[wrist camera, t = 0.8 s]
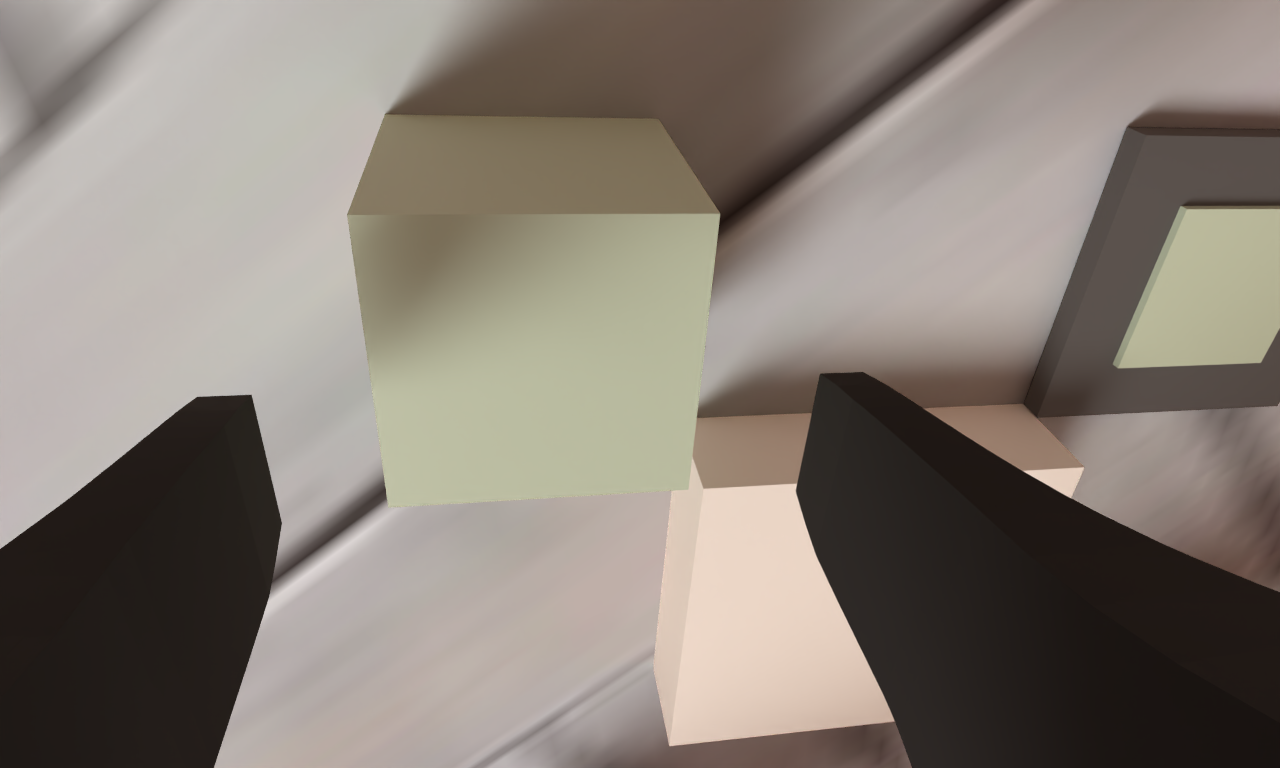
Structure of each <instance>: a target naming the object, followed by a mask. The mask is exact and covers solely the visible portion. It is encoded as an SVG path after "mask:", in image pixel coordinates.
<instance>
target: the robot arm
mask: <svg viewBox="0 0 1280 768" xmlns="http://www.w3.org/2000/svg"><path fill="white" fill-rule="evenodd" d="M796 495H797V498H798V501H799V504H800V508H801V511H802V514H803V518H804V521H805V524H806V528H807V530H808V533H809V536H810V539H811V542H812V545H813V548H814V551H815V554H816V556H817V559H818V561H819V563H820V565H821V567H822V569H823V572H824V574H825V576H826V578H827V580H828V582H829V584H830V586H831V588H832V591H833V593H834V595H835V597H836V599H837V601H838V603H839V605H840V607H841V609H842V611H843V613H844V615H845V617H846V620H847V622H848V624H849V626H850V628H851V630H852V632H853V634H854V636H855V638H856V640H857V642H858V644H859V646H860V648H861V650H862V652H863V654H864V656H865V658H866V660H867V663H868V665H869V667H870V669H871V671H872V673H873V675H874V677H875V679H876V681H877V683H878V685H879V687H880V689H881V691H882V693H883V695H884V698H885V700H886V702H887V704H888V707H889V709H890V711H891V714H892V716H893V718H894V721H895V723H896V725H897V727H898V730H899V733H900V735H901V738H902V741H903V744H904V746H905V749H906V752H907V755H908V757H909V760H910V763H911V766H912V768H1280V592H1278V591H1275V590H1272V589H1270V588H1267V587H1264V586H1262V585H1259V584H1257V583H1254V582H1252V581H1249V580H1247V579H1244V578H1242V577H1240V576H1237V575H1235V574H1232V573H1230V572H1227V571H1225V570H1222V569H1220V568H1218V567H1215V566H1213V565H1210V564H1208V563H1205V562H1203V561H1200V560H1198V559H1196V558H1193V557H1191V556H1189V555H1186V554H1184V553H1182V552H1180V551H1177V550H1175V549H1173V548H1171V547H1168V546H1166V545H1164V544H1162V543H1159V542H1157V541H1155V540H1153V539H1151V538H1149V537H1147V536H1145V535H1143V534H1141V533H1139V532H1137V531H1135V530H1133V529H1130V528H1128V527H1126V526H1124V525H1122V524H1120V523H1118V522H1116V521H1114V520H1112V519H1110V518H1108V517H1106V516H1104V515H1102V514H1100V513H1098V512H1096V511H1094V510H1092V509H1090V508H1088V507H1086V506H1084V505H1082V504H1081V503H1079V502H1077V501H1075V500H1073V499H1071V498H1069V497H1068V496H1066V495H1064V494H1062V493H1061V492H1059V491H1057V490H1055V489H1053V488H1052V487H1050V486H1048V485H1046V484H1045V483H1043V482H1041V481H1039V480H1038V479H1036V478H1034V477H1032V476H1031V475H1029V474H1027V473H1025V472H1024V471H1022V470H1020V469H1019V468H1017V467H1015V466H1014V465H1012V464H1010V463H1009V462H1007V461H1005V460H1004V459H1002V458H1000V457H999V456H997V455H995V454H994V453H992V452H991V451H989V450H987V449H986V448H984V447H983V446H981V445H979V444H978V443H976V442H975V441H973V440H972V439H970V438H968V437H967V436H965V435H964V434H962V433H961V432H959V431H957V430H956V429H954V428H953V427H951V426H950V425H948V424H947V423H945V422H943V421H942V420H940V419H939V418H937V417H936V416H934V415H933V414H931V413H930V412H928V411H926V410H925V409H923V408H922V407H920V406H919V405H917V404H916V403H914V402H913V401H911V400H909V399H908V398H906V397H905V396H903V395H901V394H900V393H898V392H897V391H895V390H894V389H892V388H890V387H889V386H887V385H885V384H884V383H882V382H880V381H878V380H877V379H875V378H873V377H871V376H869V375H867V374H865V373H863V372H854V373H827V374H820V377H819V382H818V386H817V391H816V396H815V401H814V405H813V410H812V415H811V420H810V424H809V429H808V434H807V439H806V444H805V448H804V453H803V458H802V463H801V467H800V472H799V477H798V482H797V486H796ZM281 525H282V522H281V518H280V513H279V509H278V505H277V501H276V497H275V492H274V488H273V484H272V480H271V475H270V471H269V467H268V463H267V458H266V454H265V450H264V446H263V442H262V437H261V433H260V429H259V425H258V420H257V416H256V412H255V408H254V403H253V399H252V395H237V396H210V397H197V398H195V399H194V400H192V401H191V402H190V403H188V404H187V405H185V406H184V407H183V408H181V409H180V410H179V411H178V412H176V413H175V414H174V415H172V416H171V417H170V418H169V419H167V420H166V421H165V422H164V423H163V424H161V425H160V426H159V427H158V428H156V429H155V430H154V431H153V432H151V433H150V434H149V435H148V436H147V437H145V438H144V439H143V440H142V441H140V442H139V443H138V444H137V445H136V446H134V447H133V448H132V449H131V450H129V451H128V452H127V453H126V454H125V455H123V456H122V457H121V458H120V459H118V460H117V461H116V462H114V463H113V464H112V465H111V466H109V467H108V468H107V469H106V470H104V471H103V472H102V473H101V474H99V475H98V476H97V477H96V478H94V479H93V480H92V481H91V482H89V483H88V484H87V485H86V486H84V487H83V488H82V489H81V490H79V491H78V492H77V493H76V494H74V495H73V496H72V497H71V498H69V499H68V500H67V501H65V502H64V503H63V504H61V505H60V506H59V507H57V508H56V509H54V510H53V511H52V512H50V513H49V514H48V515H46V516H45V517H44V518H42V519H41V520H39V521H38V522H37V523H35V524H34V525H33V526H31V527H30V528H28V529H27V530H26V531H24V532H23V533H22V534H20V535H19V536H17V537H16V538H15V539H13V540H12V541H11V542H9V543H8V544H7V545H5V546H4V547H2V548H1V549H0V768H214V765H215V762H216V759H217V756H218V753H219V750H220V747H221V744H222V741H223V738H224V735H225V732H226V729H227V726H228V723H229V719H230V716H231V713H232V710H233V707H234V704H235V701H236V698H237V695H238V692H239V689H240V686H241V683H242V680H243V677H244V674H245V671H246V667H247V664H248V661H249V658H250V655H251V652H252V649H253V646H254V643H255V640H256V636H257V633H258V630H259V627H260V624H261V621H262V618H263V614H264V611H265V608H266V605H267V601H268V598H269V594H270V589H271V583H272V578H273V573H274V567H275V562H276V556H277V550H278V543H279V537H280V531H281Z"/></svg>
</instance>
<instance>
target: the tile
mask: <svg viewBox="0 0 1280 768" xmlns="http://www.w3.org/2000/svg"><path fill="white" fill-rule="evenodd" d="M1279 402H1280V130H1265V129H1204V128H1144V127H1127V129H1126V131H1125V134H1124V137H1123V139H1122V142H1121V145H1120V147H1119V150H1118V153H1117V156H1116V158H1115V161H1114V164H1113V166H1112V169H1111V172H1110V174H1109V177H1108V180H1107V182H1106V185H1105V188H1104V190H1103V193H1102V196H1101V198H1100V201H1099V204H1098V206H1097V209H1096V212H1095V215H1094V217H1093V220H1092V223H1091V225H1090V228H1089V231H1088V233H1087V236H1086V239H1085V241H1084V244H1083V247H1082V249H1081V252H1080V255H1079V257H1078V260H1077V263H1076V266H1075V268H1074V271H1073V274H1072V276H1071V279H1070V282H1069V284H1068V287H1067V290H1066V292H1065V295H1064V298H1063V300H1062V303H1061V306H1060V308H1059V311H1058V314H1057V316H1056V319H1055V322H1054V325H1053V327H1052V330H1051V333H1050V335H1049V338H1048V341H1047V343H1046V346H1045V349H1044V351H1043V354H1042V357H1041V359H1040V362H1039V365H1038V367H1037V370H1036V373H1035V375H1034V378H1033V381H1032V384H1031V386H1030V389H1029V392H1028V394H1027V397H1026V400H1025V402H1024V405H1025V406H1026V407H1027V408H1028V409H1029V410H1030V411H1031V412H1032V413H1033V414H1034V415H1035V416H1036V417H1037V418H1039V417H1060V416H1080V415H1101V414H1121V413H1142V412H1162V411H1182V410H1203V409H1223V408H1244V407H1264V406H1278V404H1279Z"/></svg>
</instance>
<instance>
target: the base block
mask: <svg viewBox="0 0 1280 768" xmlns="http://www.w3.org/2000/svg"><path fill="white" fill-rule="evenodd" d="M923 409H925V410H926V411H928V412H930V413H931V414H933V415H934V416H936V417H937V418H939V419H940V420H942V421H943V422H945V423H947V424H948V425H950V426H951V427H953V428H954V429H956V430H957V431H959V432H961V433H962V434H964V435H965V436H967V437H968V438H970V439H972V440H973V441H975V442H976V443H978V444H979V445H981V446H983V447H984V448H986V449H987V450H989V451H991V452H992V453H994V454H995V455H997V456H999V457H1000V458H1002V459H1004V460H1005V461H1007V462H1009V463H1010V464H1012V465H1014V466H1015V467H1017V468H1019V469H1020V470H1022V471H1024V472H1025V473H1027V474H1029V475H1031V476H1032V477H1034V478H1036V479H1038V480H1039V481H1041V482H1043V483H1045V484H1046V485H1048V486H1050V487H1052V488H1053V489H1055V490H1057V491H1059V492H1061V493H1062V494H1064V495H1066V496H1068V497H1069V498H1071V497H1072V495H1073V492H1074V490H1075V488H1076V486H1077V484H1078V481H1079V479H1080V477H1081V475H1082V472H1083V470H1084V468H1085V467H1084V466H1083V465H1082V464H1081V463H1080V462H1079V461H1078V460H1077V459H1076V458H1075V457H1074V456H1073V455H1072V454H1071V453H1070V452H1069V451H1068V450H1067V449H1066V448H1065V447H1064V445H1063V444H1062V443H1061V442H1060V441H1059V440H1058V439H1057V438H1056V437H1055V436H1054V435H1053V434H1052V433H1051V432H1050V431H1049V430H1048V429H1047V428H1046V427H1045V426H1044V425H1043V424H1042V423H1041V422H1040V421H1039V420H1038V419H1037V418H1036V417H1035V416H1034V415H1033V414H1032V413H1031V412H1030V411H1029V410H1028V409H1027V408H1026V407H1025V405H1024V404H1007V405H984V406H961V407H938V408H923ZM811 415H812V413H799V414H776V415H753V416H730V417H707V418H697V420H696V428H695V437H694V446H693V454H692V463H691V472H690V480H689V489H688V490H675V491H672V494H671V503H670V513H669V522H668V532H667V541H666V551H665V560H664V570H663V579H662V589H661V598H660V608H659V617H658V627H657V636H656V646H655V655H654V665H653V669H654V674H655V679H656V684H657V688H658V693H659V698H660V703H661V708H662V713H663V717H664V722H665V727H666V732H667V737H668V742H669V746H675V745H684V744H694V743H703V742H712V741H721V740H730V739H739V738H749V737H758V736H767V735H776V734H785V733H794V732H804V731H813V730H822V729H831V728H840V727H849V726H858V725H868V724H877V723H886V722H895V721H894V718H893V716H892V714H891V711H890V709H889V707H888V704H887V702H886V700H885V698H884V695H883V693H882V691H881V689H880V687H879V685H878V683H877V681H876V679H875V677H874V675H873V673H872V671H871V669H870V667H869V665H868V663H867V660H866V658H865V656H864V654H863V652H862V650H861V648H860V646H859V644H858V642H857V640H856V638H855V636H854V634H853V632H852V630H851V628H850V626H849V624H848V622H847V620H846V617H845V615H844V613H843V611H842V609H841V607H840V605H839V603H838V601H837V599H836V597H835V595H834V593H833V591H832V588H831V586H830V584H829V582H828V580H827V578H826V576H825V574H824V572H823V569H822V567H821V565H820V563H819V561H818V559H817V556H816V554H815V551H814V548H813V545H812V542H811V539H810V536H809V533H808V530H807V528H806V524H805V521H804V518H803V514H802V511H801V508H800V504H799V501H798V498H797V495H796V486H797V482H798V477H799V472H800V467H801V463H802V458H803V453H804V448H805V444H806V439H807V434H808V429H809V424H810V420H811Z"/></svg>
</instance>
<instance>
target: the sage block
mask: <svg viewBox="0 0 1280 768" xmlns="http://www.w3.org/2000/svg"><path fill="white" fill-rule="evenodd" d="M347 217H348V224H349V231H350V238H351V245H352V252H353V259H354V266H355V273H356V281H357V288H358V295H359V302H360V309H361V316H362V323H363V330H364V337H365V344H366V352H367V359H368V366H369V373H370V380H371V387H372V394H373V401H374V408H375V415H376V423H377V430H378V437H379V444H380V451H381V458H382V465H383V472H384V479H385V486H386V494H387V501H388V508H390V507H407V506H424V505H441V504H457V503H474V502H491V501H508V500H524V499H541V498H558V497H575V496H592V495H608V494H625V493H642V492H659V491H675V490H688V489H689V480H690V472H691V463H692V454H693V446H694V437H695V428H696V420H697V411H698V402H699V394H700V385H701V377H702V368H703V359H704V351H705V342H706V333H707V325H708V316H709V307H710V299H711V290H712V281H713V273H714V264H715V255H716V247H717V238H718V229H719V221H720V212H719V211H718V209H717V208H716V206H715V205H714V203H713V202H712V200H711V199H710V197H709V196H708V194H707V193H706V191H705V189H704V188H703V186H702V185H701V183H700V182H699V180H698V179H697V177H696V176H695V174H694V173H693V171H692V170H691V168H690V167H689V165H688V163H687V162H686V160H685V159H684V157H683V156H682V154H681V153H680V151H679V150H678V148H677V147H676V145H675V144H674V142H673V141H672V139H671V137H670V136H669V134H668V133H667V131H666V130H665V128H664V127H663V125H662V124H661V122H660V121H659V119H647V118H584V117H521V116H458V115H395V114H385V116H384V119H383V121H382V124H381V126H380V129H379V132H378V134H377V137H376V140H375V142H374V145H373V148H372V150H371V153H370V156H369V158H368V161H367V164H366V166H365V169H364V172H363V174H362V177H361V180H360V182H359V185H358V188H357V190H356V193H355V195H354V198H353V201H352V203H351V206H350V209H349V211H348V214H347Z"/></svg>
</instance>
